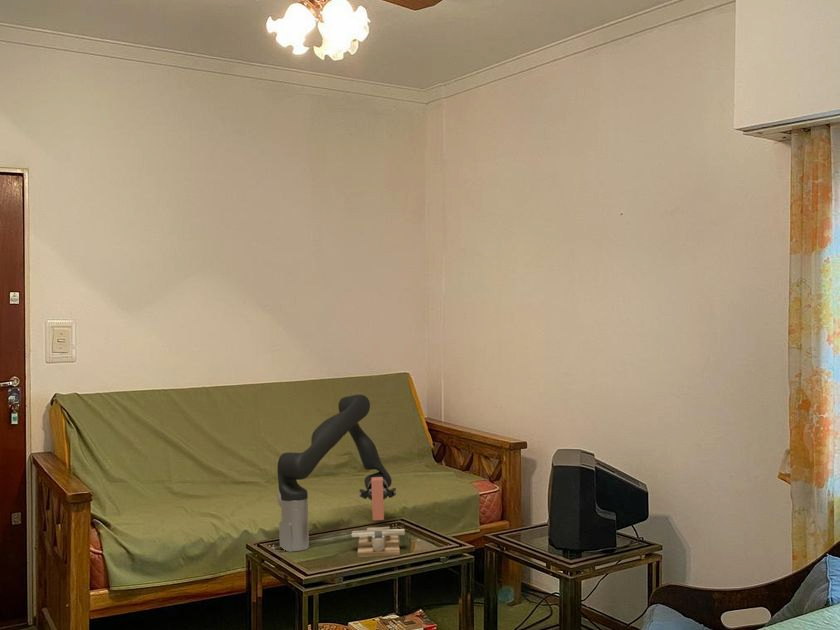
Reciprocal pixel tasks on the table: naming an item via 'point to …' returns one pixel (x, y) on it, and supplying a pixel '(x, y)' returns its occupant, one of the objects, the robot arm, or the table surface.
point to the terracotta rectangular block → (377, 498)
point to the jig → (378, 541)
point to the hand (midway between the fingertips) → (377, 496)
